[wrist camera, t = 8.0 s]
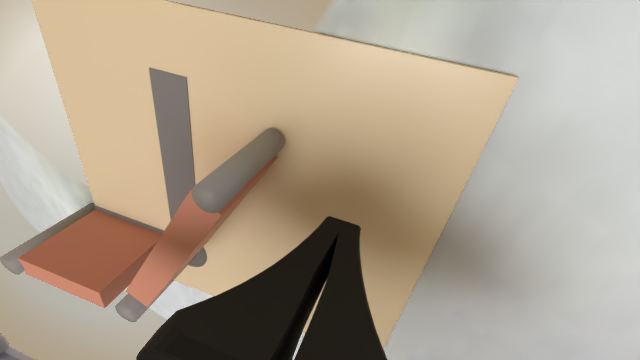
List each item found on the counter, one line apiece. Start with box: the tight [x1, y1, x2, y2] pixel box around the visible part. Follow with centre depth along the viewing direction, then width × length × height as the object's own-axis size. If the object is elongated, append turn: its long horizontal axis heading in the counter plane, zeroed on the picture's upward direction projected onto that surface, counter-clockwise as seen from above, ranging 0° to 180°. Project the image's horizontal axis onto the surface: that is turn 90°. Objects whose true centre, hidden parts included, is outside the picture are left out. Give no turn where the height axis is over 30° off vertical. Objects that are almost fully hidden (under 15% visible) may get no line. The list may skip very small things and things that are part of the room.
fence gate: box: [126, 128, 284, 307], centre depth 13 cm, size 9×1×4 cm, turn 141°
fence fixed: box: [0, 204, 196, 322], centre depth 17 cm, size 8×1×5 cm, turn 81°
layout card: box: [32, 0, 519, 349], centre depth 15 cm, size 19×16×1 cm
